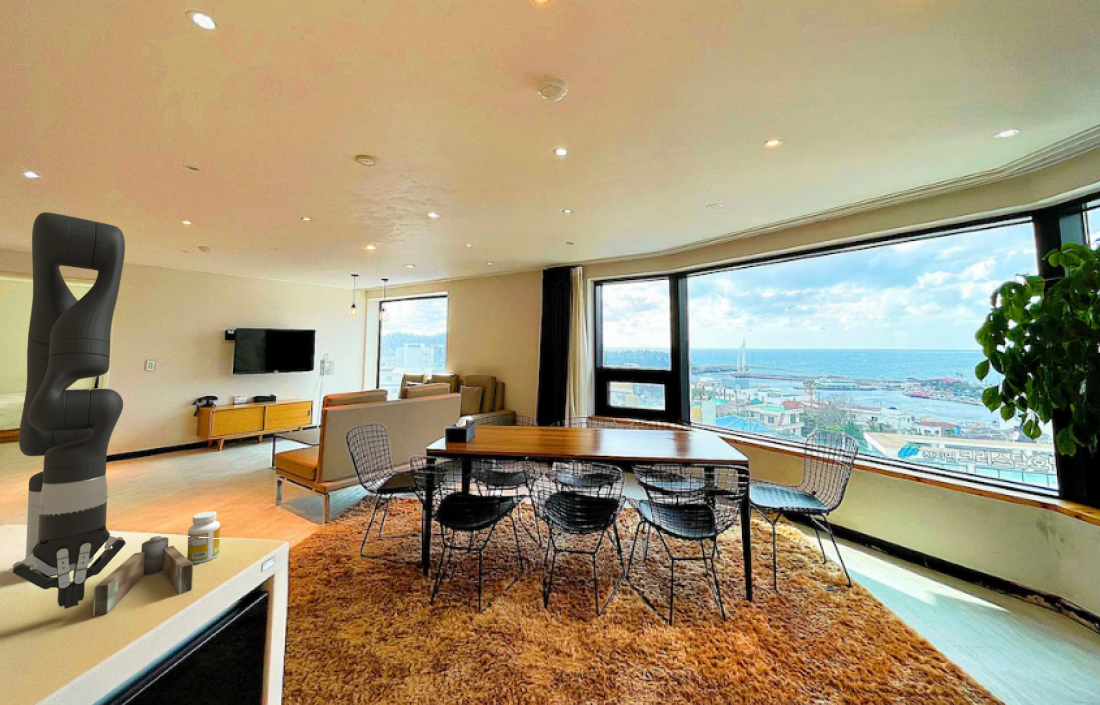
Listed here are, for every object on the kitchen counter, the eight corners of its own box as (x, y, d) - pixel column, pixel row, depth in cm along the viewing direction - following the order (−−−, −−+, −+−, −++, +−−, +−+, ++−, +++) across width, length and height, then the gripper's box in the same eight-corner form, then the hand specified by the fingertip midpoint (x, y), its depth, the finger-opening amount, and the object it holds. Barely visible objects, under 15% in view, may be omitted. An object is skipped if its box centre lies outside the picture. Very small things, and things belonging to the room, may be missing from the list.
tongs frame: (138, 571, 82) (139, 538, 83) (167, 562, 86) (168, 531, 86) (160, 600, 73) (162, 563, 73) (192, 589, 76) (193, 554, 76)
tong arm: (132, 578, 80) (133, 553, 80) (144, 576, 80) (145, 551, 81) (93, 616, 68) (94, 586, 68) (107, 613, 69) (108, 584, 69)
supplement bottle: (211, 550, 92) (212, 508, 92) (224, 555, 90) (225, 512, 90) (182, 560, 87) (183, 516, 87) (194, 566, 85) (196, 520, 85)
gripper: (125, 490, 76) (122, 581, 76) (9, 511, 65) (4, 617, 65) (133, 498, 72) (130, 594, 71) (10, 521, 61) (5, 636, 61)
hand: (70, 605), depth 68 cm, fingers closed
